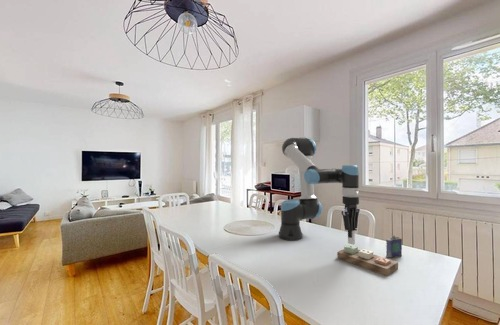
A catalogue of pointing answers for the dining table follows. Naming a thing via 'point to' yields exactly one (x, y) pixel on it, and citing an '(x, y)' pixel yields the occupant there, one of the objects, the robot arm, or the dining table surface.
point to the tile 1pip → (350, 249)
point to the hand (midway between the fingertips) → (351, 243)
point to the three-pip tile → (383, 261)
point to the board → (368, 262)
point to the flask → (394, 247)
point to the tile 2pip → (366, 254)
